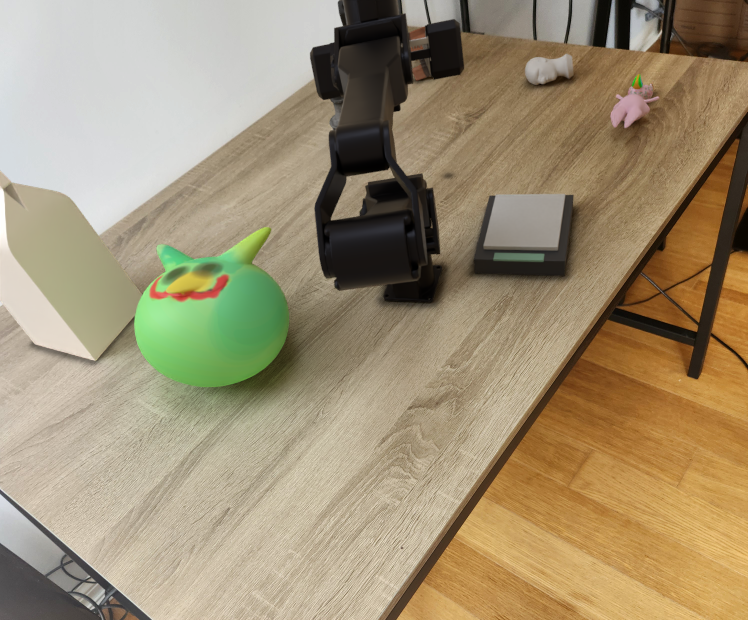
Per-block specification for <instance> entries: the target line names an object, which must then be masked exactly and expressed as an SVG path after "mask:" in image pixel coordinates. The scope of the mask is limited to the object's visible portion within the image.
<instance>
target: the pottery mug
mask: <svg viewBox="0 0 748 620" xmlns="http://www.w3.org/2000/svg"><path fill="white" fill-rule="evenodd" d="M408 34H409V40H414V39H419V38H424V37H425V25H424V26H422V27H419V28H416V29H414V30H411V31H408ZM422 49H423V47H422V45H421V46H420V48H419V46H417V48H416V47H415V46H414V49H413V48H412V47H411V50H410V52H411V51H417V50H422ZM418 61H419V63H420V64H418V65H416V66H415V67H412V71H413V78H414V80H415V81H416V82H417V81H421V80H423V79H425V78H428V77H431V75H430V73H429V70H428V67H427V64H426V62H425V59H420V60H418Z"/></svg>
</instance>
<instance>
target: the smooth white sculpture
mask: <svg viewBox="0 0 748 620" xmlns="http://www.w3.org/2000/svg"><path fill="white" fill-rule="evenodd" d="M524 74H525V77H526V80H527V81H528V82H529V83H530V84H532V85H534V86H538V85H540V84H541V85H545V84H547V83H550V82H554V81H555V80H557V78H558V77H564V78H566V79H568V80H570V79H571V78H572V77H574V63H573V55H571V54H569V53H565V54H564V55H562V56H561V57H557V58H546V57H543V56H535V57H532V58H531V59H529V60H528V61H527V62H526V64H525V68H524Z"/></svg>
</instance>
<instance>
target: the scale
mask: <svg viewBox="0 0 748 620" xmlns="http://www.w3.org/2000/svg"><path fill="white" fill-rule="evenodd" d="M574 196H575V195H574V194H566V193H524V194H523V193H513V194H511V193H509V194H508V193H506V194H505V193H503V194H502V193H501V194H499V193H498V194H493V195H492V194H490V195H489V196H488V200H487V204H486V207H485V212H484V215H483V219H482V223H481V228H480V232H479V235H478V239H477V243H476V247H475V250H474V254H473V255H474V256H473V267H474V274H481V275H482V274H483V275H486V274H487V275H488V274H489V275H515V276H516V275H521V276H550V277H552V276H553V277H565V275H566V269H567V261H568V253H569V244H570V238H571V237H570V236H571V229H572V221H573V214H574V199H575V197H574Z"/></svg>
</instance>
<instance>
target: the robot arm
mask: <svg viewBox="0 0 748 620" xmlns="http://www.w3.org/2000/svg"><path fill="white" fill-rule="evenodd" d="M337 9H338V14H339V18H340V21H341V26H336V27H334V28H333V42H329V43H328V44H327V43H326V44H322V45H316V46H312V48H311V50H310V52H309V60H310V65H311V69H312V74H313V80H314V84H315V90H316V93H317V95H318V97H319V98H320V99H321V100H322V101H326V100H330V99H333V98H338V97H344V100H343V104H342V109H341V113H340V117H339V122H338V126H337V128H336V129H335V130H333V129H332V130H329V132H328V147H329V158H330V168H329V171H328V173H327V174H326V176H325V179H324V182H323V184H322V186H321V189H320V191H319V193H318V196H317V198H316V201H315V203H314V207H313V208H314V220H315V227H316V228H315V229H316V230H315V231H316V238H317V240H316V241H317V250H318V257H319V263H320V267H321V271H322V275H323V276H324V278H325V279H334V280H333V284H334V285H333V286H334V288H335V289H336V290H337V291H338V292H341V291H350V290H358V289H364V288H365V289H366V288H372V287H379V286H386V287H385V290H384V293H383V296H382V297H383V300H384V301H386V302H401V303H402V302H403V303H404V302H407V303H425V304H426V303H427V304H431V303H433V302H434V301H435V298H436V294H437V290H438V287H439V283H440V279H441V276H442V274H443V265H441V264H433V263H434V262H433V259H432V256H433V255H436V256H438V255H441V241H440V227H439V221H438V214H437V205H436V199H435V198H436V197H435V192H434V191H435V190H434V187H428V183H427V180H426V179H424V175H423V174H424V173H415V174H409V175H407V174H406V172H405V171H404V170H403V169H402V168H401V166H400V165H399V164H398V162H397V153H396V144H395V143H396V142H395V137H394V132H393V131H394V130H393V124H394V114H395V113H397V112H401V110H402V108H401V104H403V103H405V102H406V101H407V100H408V96H409V85H412V84H414V74H413V71H412V69H413V63H412V62H414V61H419V60H420V59H425V62H426V64H427V67H428V70H429V73H430V75H431V76H430V77H431V79H432V78H433V81H434V80H439V79H445V78H451V77H457V76H461V75H462V73H463V72H464V70H465V62H464V61H465V60H464V52H463V42H462V33H461V23H460V22H459V21H458V20H456V19H455V18H452V19H447V20H442V21H437V22H432V23H428V24H426V25H424V26H425V37H424V38H419V39H414V40H409V34H408V33H409V27H408V19H407V14H406V12H404V13H400V6H399V0H338V1H337ZM421 45H422V47H423V49H422V50H417V51H411V52H410V50H411V47H412V48H413V49H414V46H415V47H416V48H417V46H419V48H420V46H421ZM389 170H390V171H391V173H392V174H391V175H392V176H393V177H390V178H384V179H377V180H371V181H367V184H366V185H365V186H364V188H365V196H364V198H362V204H361V208H360V210H359V211H358V213H359V215H358V216H350V217H345V218H338V219H332V217H333V214H334V213H335V210H336V208H337V205H338V202H339V201H340V198H341V196H342V194H343V191H344V189H345V187H346V185H347V179H348V177H354V176H360V175H366V174H371V173H372V174H373V173H378V172H384V171H389Z"/></svg>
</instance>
